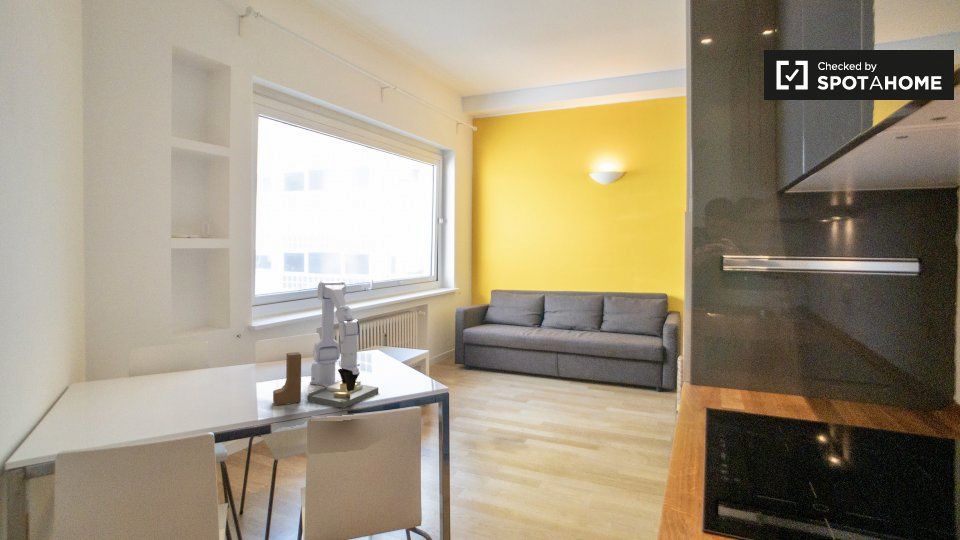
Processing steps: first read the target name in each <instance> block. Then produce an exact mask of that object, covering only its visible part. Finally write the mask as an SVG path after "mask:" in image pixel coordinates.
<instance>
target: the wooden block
mask: <svg viewBox="0 0 960 540" xmlns="http://www.w3.org/2000/svg"><path fill="white" fill-rule="evenodd" d="M285 375H286V377H285V378H286V379H285V383H284V385H283V386H281V388H277V389H275V390H273V392H272V395H273V397H272V402H273V404H274V406H282V404H284V405H289V403H291V404H298V403H297V402H299V403H301V401H302V354H301V353H300V352H298V351H296V352H288V353H286V374H285Z"/></svg>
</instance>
